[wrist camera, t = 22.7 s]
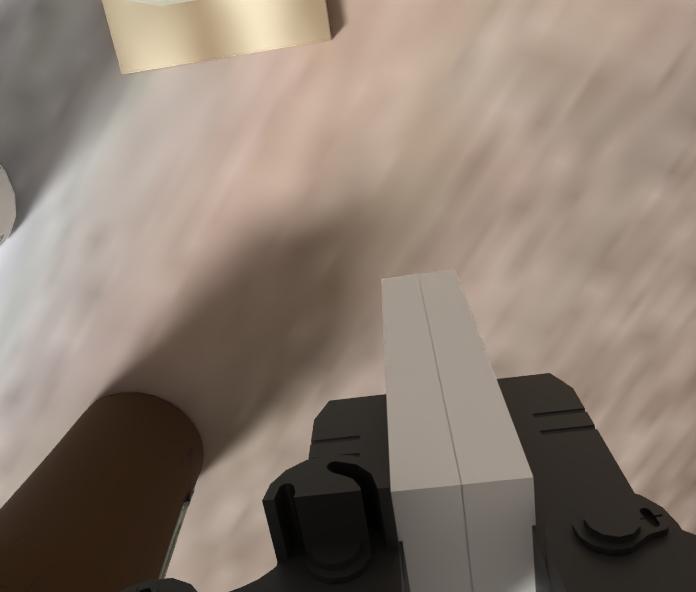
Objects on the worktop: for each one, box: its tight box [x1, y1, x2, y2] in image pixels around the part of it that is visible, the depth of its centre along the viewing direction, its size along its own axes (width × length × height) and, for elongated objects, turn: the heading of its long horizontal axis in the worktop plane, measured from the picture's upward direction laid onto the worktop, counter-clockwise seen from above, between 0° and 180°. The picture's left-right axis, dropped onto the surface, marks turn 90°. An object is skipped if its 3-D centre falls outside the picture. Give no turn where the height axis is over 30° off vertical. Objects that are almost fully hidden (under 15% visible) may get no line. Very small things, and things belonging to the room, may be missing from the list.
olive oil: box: [0, 393, 203, 592], centre depth 35 cm, size 11×11×25 cm
